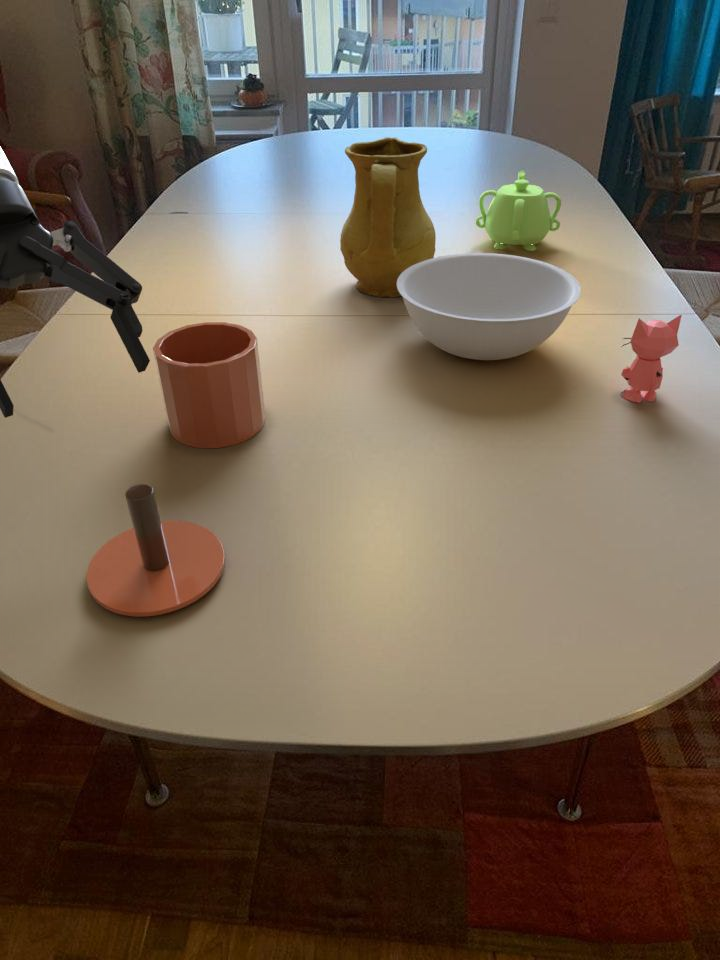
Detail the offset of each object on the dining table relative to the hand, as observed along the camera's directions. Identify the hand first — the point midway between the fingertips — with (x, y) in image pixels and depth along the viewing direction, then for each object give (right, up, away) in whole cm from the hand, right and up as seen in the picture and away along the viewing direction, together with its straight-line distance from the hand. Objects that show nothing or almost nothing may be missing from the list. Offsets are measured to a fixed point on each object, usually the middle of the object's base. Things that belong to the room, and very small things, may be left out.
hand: (80, 388), depth 72 cm
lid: (+7, -18, +3) cm, 19 cm away
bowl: (+47, +12, +44) cm, 66 cm away
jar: (+8, -1, +27) cm, 28 cm away
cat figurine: (+66, +2, +30) cm, 73 cm away
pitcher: (+32, +27, +65) cm, 77 cm away
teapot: (+60, +42, +85) cm, 112 cm away
